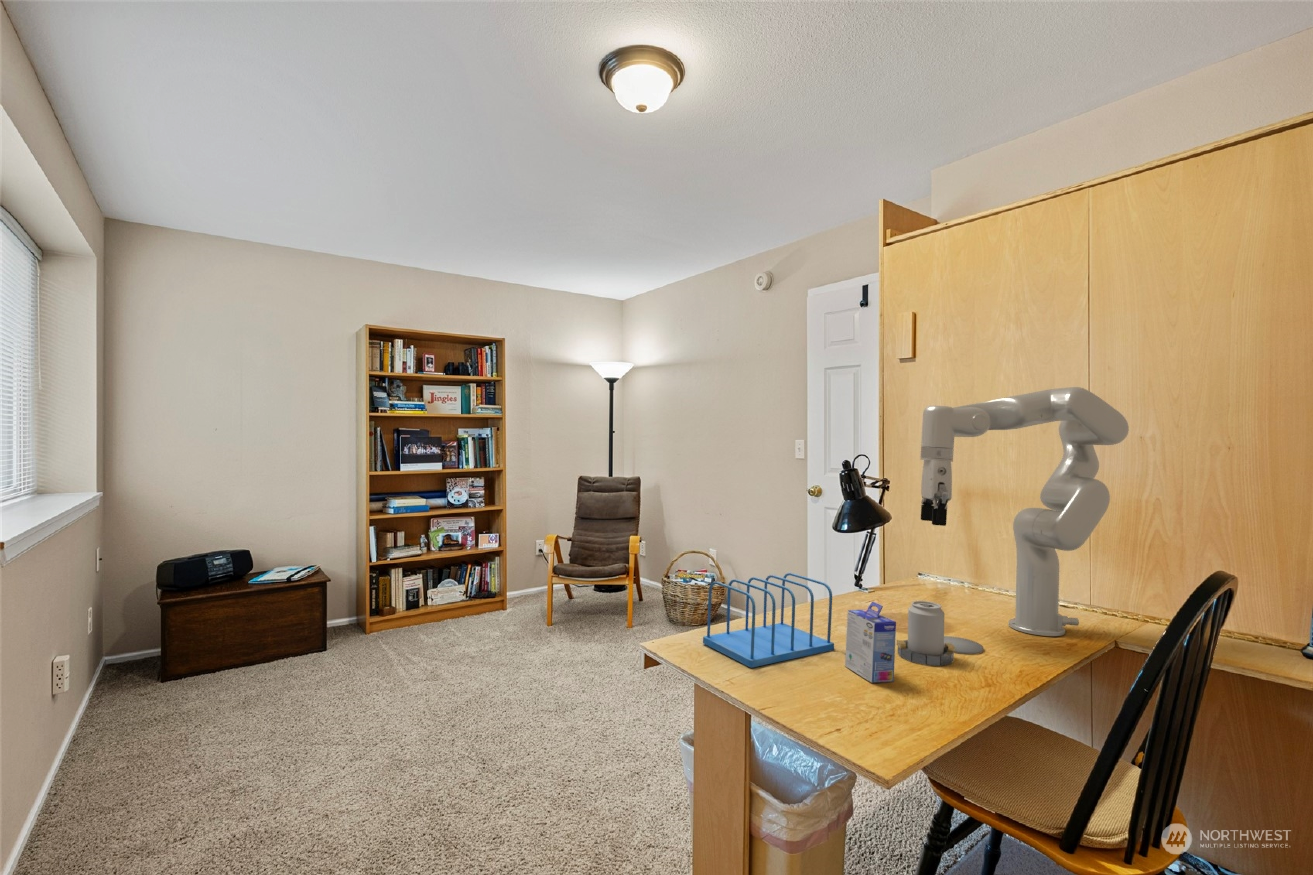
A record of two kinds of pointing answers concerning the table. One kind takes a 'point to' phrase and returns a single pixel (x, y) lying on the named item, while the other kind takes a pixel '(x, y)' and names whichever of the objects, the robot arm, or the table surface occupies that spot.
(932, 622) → the can
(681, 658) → the table surface
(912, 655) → the collar
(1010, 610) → the table surface
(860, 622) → the ink cartridge box
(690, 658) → the table surface
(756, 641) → the file sorter
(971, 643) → the coaster
